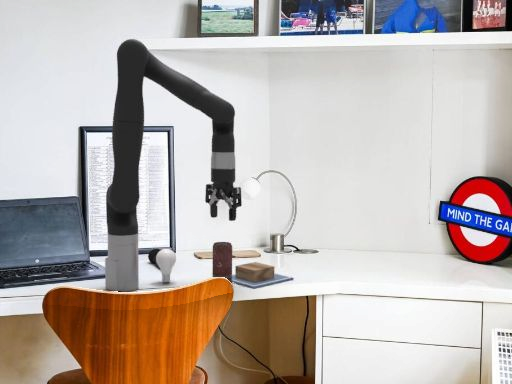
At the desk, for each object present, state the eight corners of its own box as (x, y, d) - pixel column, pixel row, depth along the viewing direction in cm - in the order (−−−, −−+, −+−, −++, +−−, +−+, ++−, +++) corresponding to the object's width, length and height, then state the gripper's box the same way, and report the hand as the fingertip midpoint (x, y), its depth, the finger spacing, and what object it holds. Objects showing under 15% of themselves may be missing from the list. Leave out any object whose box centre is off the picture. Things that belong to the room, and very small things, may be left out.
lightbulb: (161, 286, 210) (161, 251, 209) (152, 282, 215) (152, 248, 214) (179, 283, 213) (179, 249, 212) (170, 279, 219) (170, 246, 217)
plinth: (254, 282, 213) (254, 270, 213) (235, 277, 219) (235, 265, 219) (274, 278, 219) (274, 266, 219) (255, 273, 226) (255, 262, 225)
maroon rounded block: (230, 290, 206) (230, 245, 205) (210, 288, 207) (210, 244, 206) (234, 285, 212) (235, 241, 210) (215, 284, 213) (215, 240, 212)
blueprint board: (254, 288, 208) (254, 286, 208) (220, 279, 220) (220, 277, 219) (293, 279, 221) (293, 277, 220) (259, 271, 232) (259, 269, 232)
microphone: (171, 282, 228) (158, 262, 246) (177, 266, 228) (163, 248, 246) (157, 278, 226) (144, 259, 244) (162, 262, 225) (149, 244, 243)
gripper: (198, 165, 208) (199, 217, 210) (229, 168, 198) (229, 223, 200) (217, 164, 213) (217, 215, 215) (247, 167, 203) (247, 220, 205)
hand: (223, 218), depth 207 cm, fingers open, 8 cm apart
